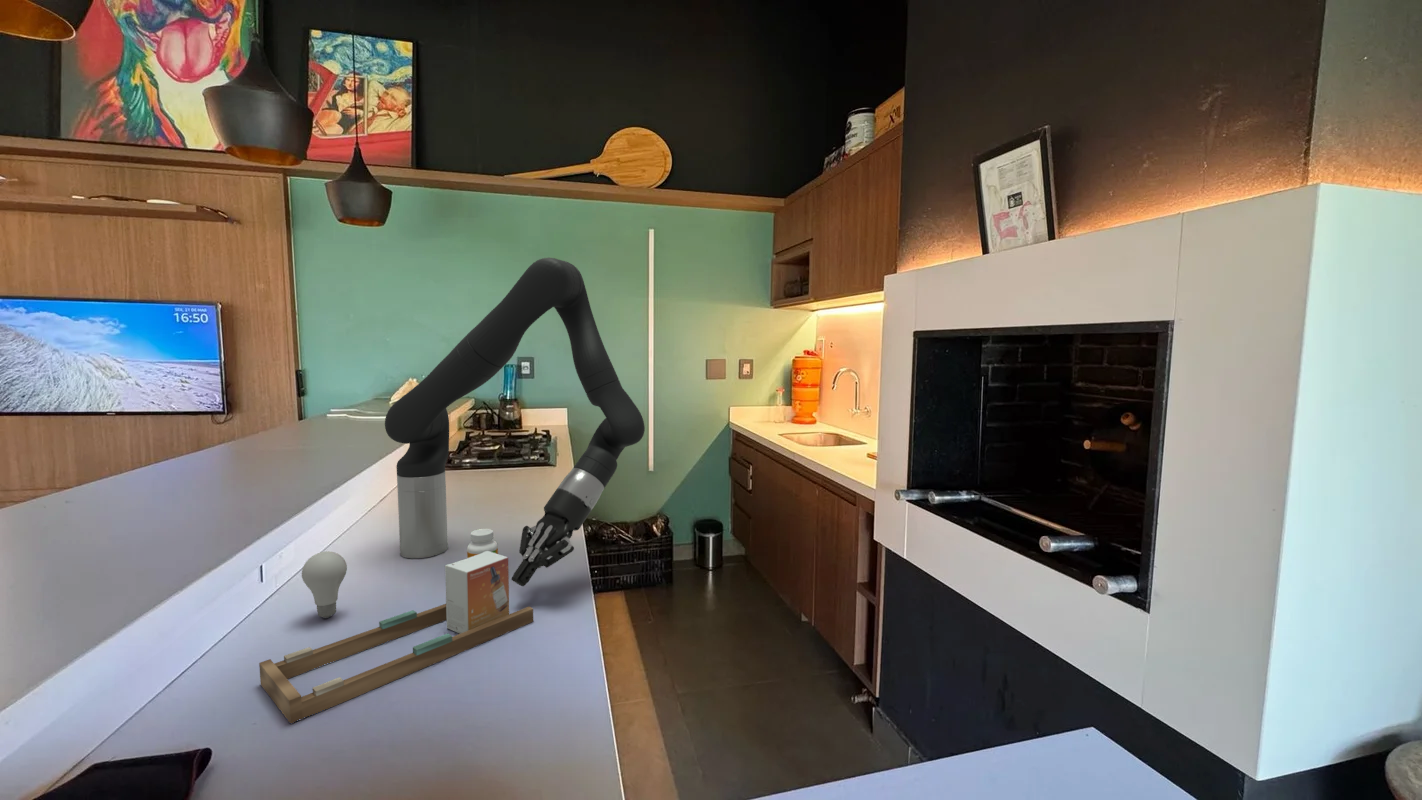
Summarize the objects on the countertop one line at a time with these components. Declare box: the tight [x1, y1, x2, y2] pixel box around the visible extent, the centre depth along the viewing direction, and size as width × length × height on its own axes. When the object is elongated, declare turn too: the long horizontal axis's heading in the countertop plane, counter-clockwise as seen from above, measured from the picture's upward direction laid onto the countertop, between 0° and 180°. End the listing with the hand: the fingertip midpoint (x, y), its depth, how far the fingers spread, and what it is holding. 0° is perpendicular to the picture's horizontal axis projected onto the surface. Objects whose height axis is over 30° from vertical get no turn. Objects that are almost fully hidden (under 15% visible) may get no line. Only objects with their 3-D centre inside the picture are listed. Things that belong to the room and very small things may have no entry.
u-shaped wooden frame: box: [258, 603, 534, 724], centre depth 85 cm, size 12×33×3 cm, turn 141°
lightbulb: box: [301, 550, 348, 619], centre depth 94 cm, size 6×6×11 cm
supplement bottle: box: [466, 528, 499, 559], centre depth 109 cm, size 5×5×10 cm
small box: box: [444, 551, 510, 634], centre depth 93 cm, size 8×6×10 cm
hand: (517, 583), depth 98 cm, fingers closed
